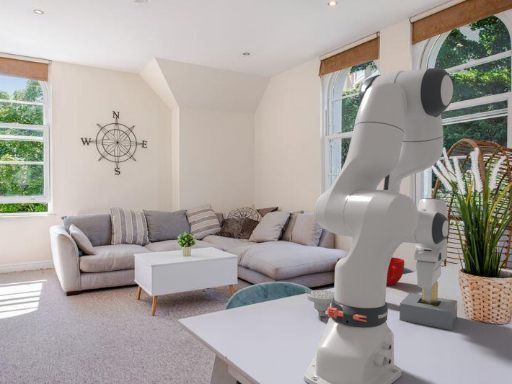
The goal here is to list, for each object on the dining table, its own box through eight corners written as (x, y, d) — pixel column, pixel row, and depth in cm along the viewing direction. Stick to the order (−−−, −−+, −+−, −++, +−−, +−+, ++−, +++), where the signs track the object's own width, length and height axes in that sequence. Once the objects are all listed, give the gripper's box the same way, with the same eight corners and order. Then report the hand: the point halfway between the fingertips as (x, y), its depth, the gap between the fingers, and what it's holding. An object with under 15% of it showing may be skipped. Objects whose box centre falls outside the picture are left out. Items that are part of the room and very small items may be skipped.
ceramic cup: (378, 289, 150) (378, 263, 150) (367, 279, 167) (367, 256, 167) (412, 290, 150) (412, 265, 150) (397, 280, 167) (398, 256, 167)
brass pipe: (435, 317, 115) (436, 283, 115) (420, 314, 118) (421, 281, 118) (438, 313, 119) (439, 280, 119) (422, 310, 121) (423, 278, 121)
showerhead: (306, 286, 125) (338, 288, 123) (305, 308, 125) (337, 311, 123) (304, 294, 116) (338, 296, 114) (303, 318, 116) (337, 321, 114)
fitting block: (451, 330, 109) (452, 312, 109) (399, 319, 116) (400, 303, 116) (456, 316, 121) (457, 300, 120) (409, 308, 128) (409, 293, 128)
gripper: (425, 246, 128) (424, 288, 129) (413, 254, 111) (411, 302, 112) (446, 248, 125) (445, 291, 125) (437, 257, 108) (435, 307, 108)
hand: (429, 296), depth 118 cm, fingers open, 5 cm apart
